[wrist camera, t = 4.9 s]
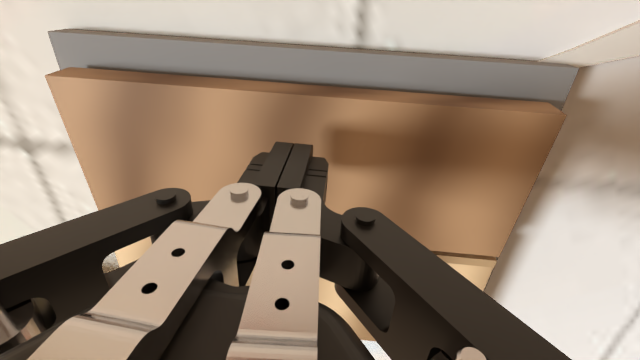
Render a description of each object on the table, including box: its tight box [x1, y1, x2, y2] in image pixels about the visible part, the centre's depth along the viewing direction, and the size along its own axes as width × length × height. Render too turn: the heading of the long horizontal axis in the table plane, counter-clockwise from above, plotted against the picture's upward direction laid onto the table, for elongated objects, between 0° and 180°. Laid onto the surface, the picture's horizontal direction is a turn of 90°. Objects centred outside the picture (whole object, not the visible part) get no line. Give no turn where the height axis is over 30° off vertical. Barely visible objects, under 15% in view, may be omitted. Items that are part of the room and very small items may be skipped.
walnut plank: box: [45, 67, 567, 257], centre depth 17 cm, size 22×8×2 cm, turn 87°
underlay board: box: [48, 29, 579, 292], centre depth 20 cm, size 24×19×1 cm
